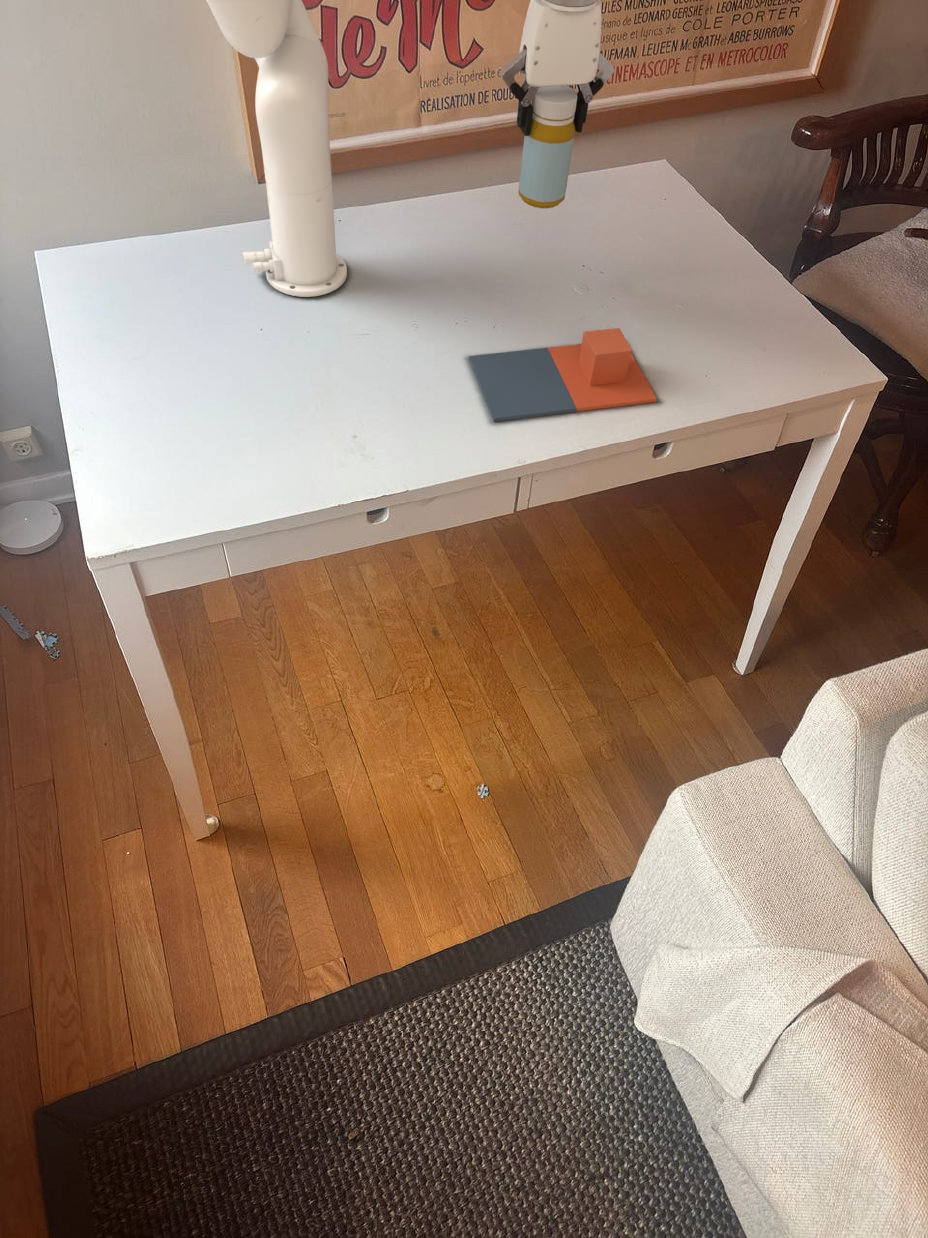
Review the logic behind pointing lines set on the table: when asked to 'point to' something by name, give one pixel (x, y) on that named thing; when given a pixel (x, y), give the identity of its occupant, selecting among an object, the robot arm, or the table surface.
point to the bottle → (548, 147)
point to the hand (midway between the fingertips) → (550, 128)
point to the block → (604, 356)
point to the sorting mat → (550, 384)
